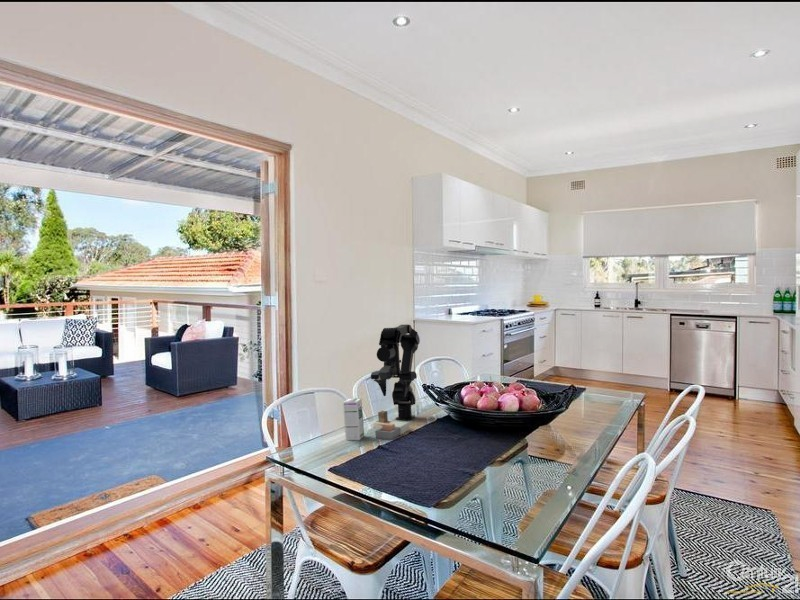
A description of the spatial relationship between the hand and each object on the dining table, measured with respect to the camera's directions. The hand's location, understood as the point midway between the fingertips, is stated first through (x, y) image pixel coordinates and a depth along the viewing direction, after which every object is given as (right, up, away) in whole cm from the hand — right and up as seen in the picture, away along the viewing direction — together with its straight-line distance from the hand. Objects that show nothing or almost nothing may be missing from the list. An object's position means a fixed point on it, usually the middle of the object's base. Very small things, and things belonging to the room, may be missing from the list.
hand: (394, 396), depth 195 cm
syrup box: (-15, -13, -14) cm, 24 cm away
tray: (-2, -12, -15) cm, 19 cm away
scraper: (-5, -13, +1) cm, 13 cm away
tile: (-1, -10, -13) cm, 16 cm away
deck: (+1, -12, -9) cm, 15 cm away
